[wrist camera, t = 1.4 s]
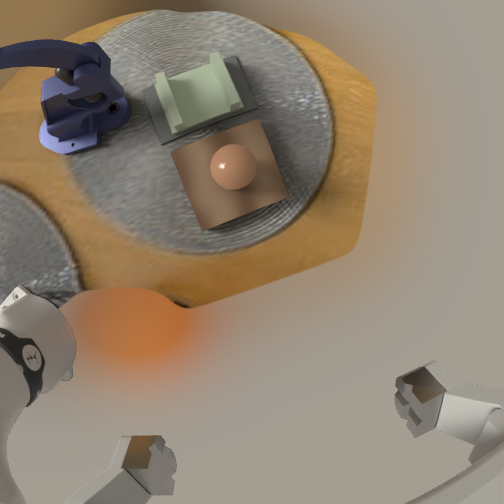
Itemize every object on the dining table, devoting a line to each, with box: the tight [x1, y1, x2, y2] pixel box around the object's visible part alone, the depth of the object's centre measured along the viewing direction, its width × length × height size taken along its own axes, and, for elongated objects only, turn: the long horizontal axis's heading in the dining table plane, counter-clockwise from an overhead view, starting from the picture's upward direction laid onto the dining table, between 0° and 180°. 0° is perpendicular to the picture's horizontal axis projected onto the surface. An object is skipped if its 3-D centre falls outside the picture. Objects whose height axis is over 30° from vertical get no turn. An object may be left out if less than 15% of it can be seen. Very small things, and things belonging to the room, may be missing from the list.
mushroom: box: [210, 144, 257, 190], centre depth 31 cm, size 4×4×9 cm
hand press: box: [0, 39, 132, 155], centre depth 20 cm, size 19×9×28 cm, turn 98°
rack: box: [155, 52, 244, 135], centre depth 33 cm, size 10×8×4 cm
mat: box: [142, 56, 258, 145], centre depth 35 cm, size 14×9×1 cm, turn 111°
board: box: [171, 119, 290, 232], centre depth 37 cm, size 12×11×2 cm
